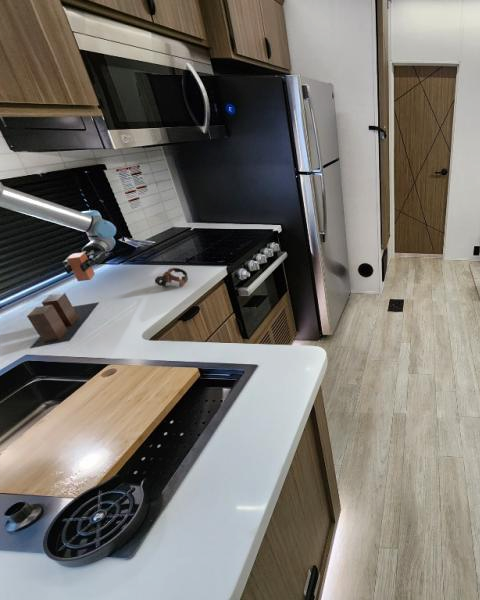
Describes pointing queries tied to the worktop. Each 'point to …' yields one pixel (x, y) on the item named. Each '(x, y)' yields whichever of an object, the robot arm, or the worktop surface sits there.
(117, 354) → the worktop surface
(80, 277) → the terracotta toy brick
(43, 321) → the dark brown cuboid
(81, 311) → the dark gray mat
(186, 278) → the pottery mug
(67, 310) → the brown wooden block
